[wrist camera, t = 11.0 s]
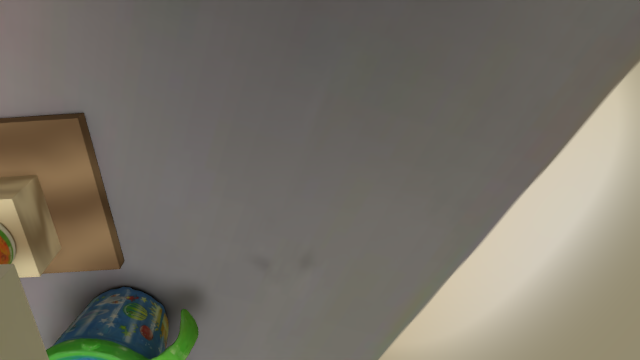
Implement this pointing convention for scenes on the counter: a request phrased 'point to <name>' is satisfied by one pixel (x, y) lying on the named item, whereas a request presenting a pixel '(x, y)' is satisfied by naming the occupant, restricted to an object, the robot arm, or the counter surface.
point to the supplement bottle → (6, 247)
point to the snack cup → (124, 330)
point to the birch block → (28, 224)
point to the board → (64, 187)
